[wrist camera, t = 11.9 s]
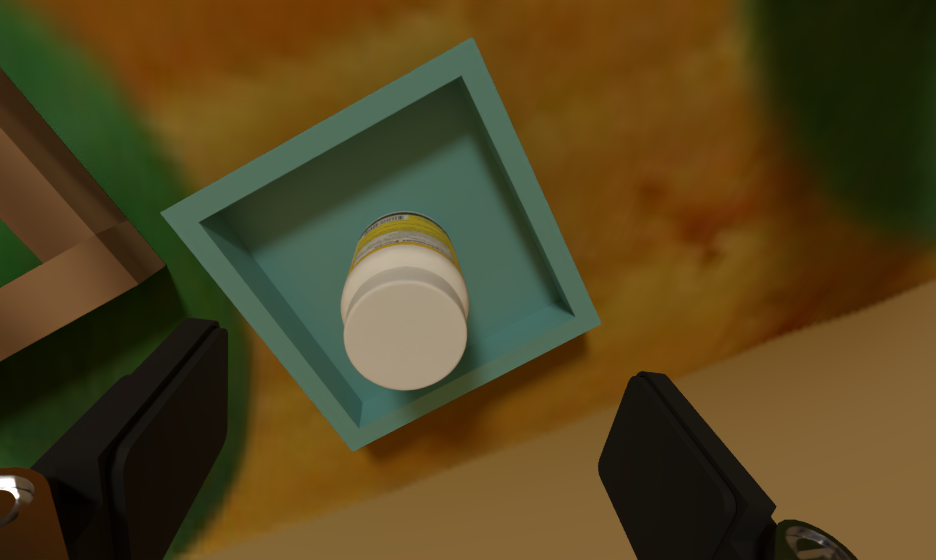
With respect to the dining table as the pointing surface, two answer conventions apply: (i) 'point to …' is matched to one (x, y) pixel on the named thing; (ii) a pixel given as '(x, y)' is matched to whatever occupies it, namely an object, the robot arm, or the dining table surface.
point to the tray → (372, 196)
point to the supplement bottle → (405, 303)
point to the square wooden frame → (58, 230)
